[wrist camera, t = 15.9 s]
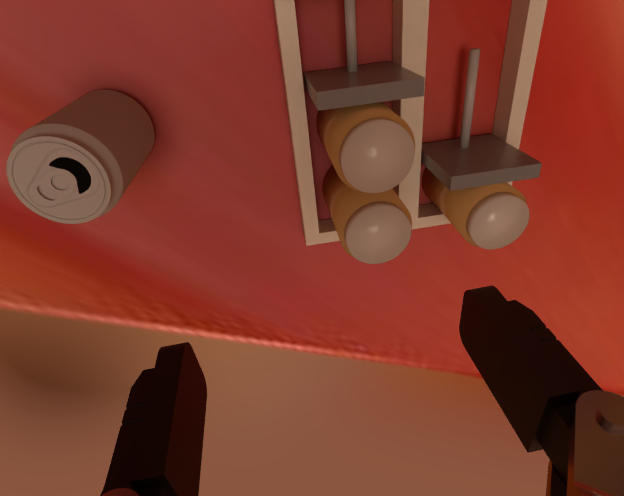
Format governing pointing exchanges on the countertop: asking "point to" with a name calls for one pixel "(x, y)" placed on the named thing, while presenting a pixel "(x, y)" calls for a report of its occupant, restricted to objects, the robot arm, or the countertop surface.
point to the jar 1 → (367, 145)
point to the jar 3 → (480, 211)
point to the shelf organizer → (396, 93)
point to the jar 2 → (367, 220)
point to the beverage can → (81, 157)
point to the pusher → (476, 150)
